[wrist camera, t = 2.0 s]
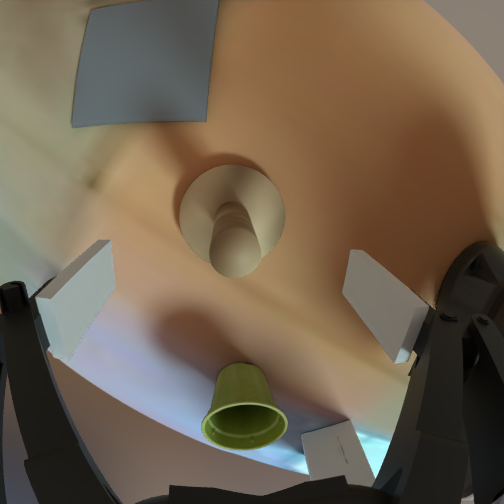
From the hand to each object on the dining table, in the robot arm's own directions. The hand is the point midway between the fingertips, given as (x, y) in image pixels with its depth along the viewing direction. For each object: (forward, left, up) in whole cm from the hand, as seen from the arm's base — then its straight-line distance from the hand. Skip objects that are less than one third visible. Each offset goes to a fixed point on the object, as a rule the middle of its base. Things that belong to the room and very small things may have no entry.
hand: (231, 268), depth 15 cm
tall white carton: (-18, +38, -14) cm, 45 cm away
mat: (+10, -16, -14) cm, 23 cm away
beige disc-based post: (0, 0, -14) cm, 14 cm away
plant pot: (-2, +21, -14) cm, 26 cm away
